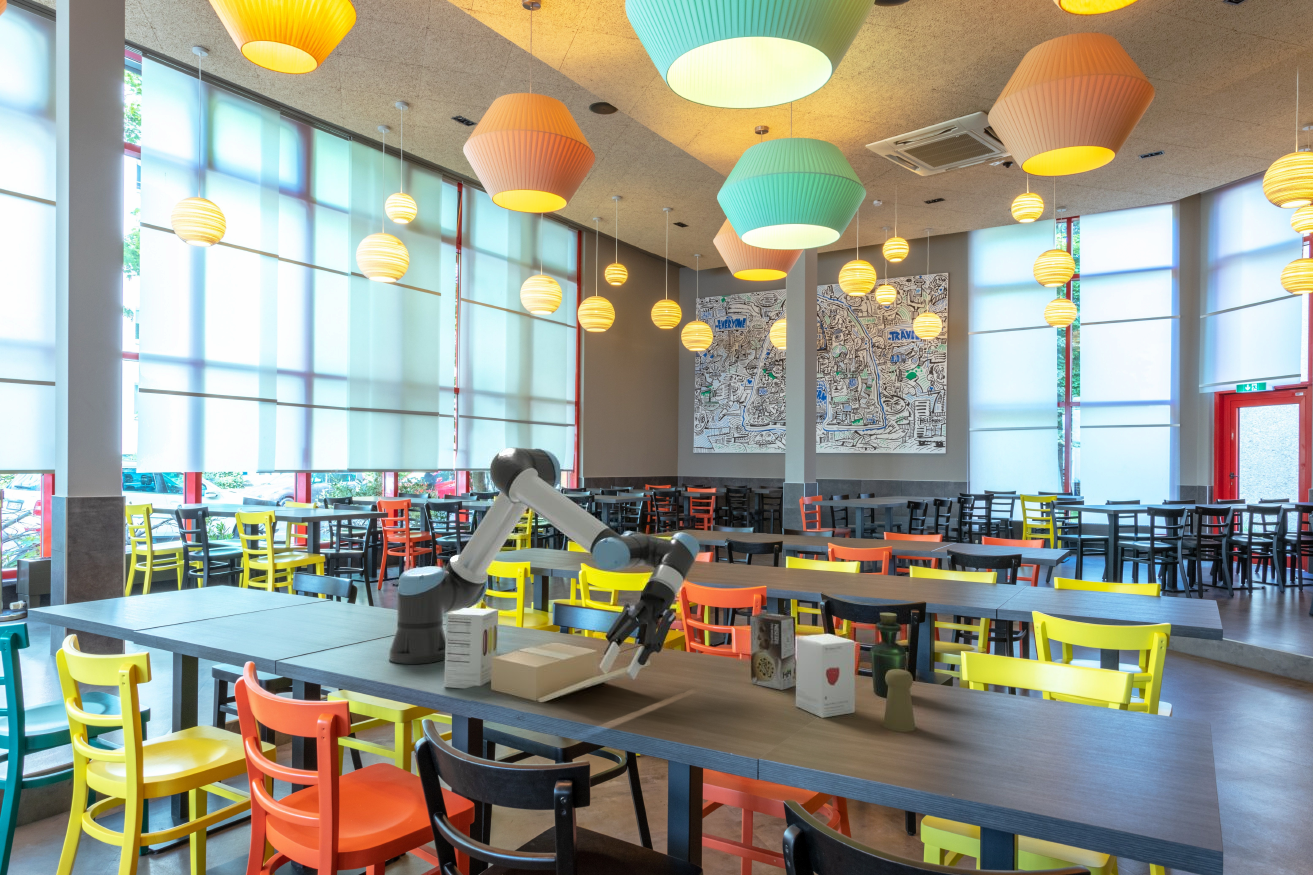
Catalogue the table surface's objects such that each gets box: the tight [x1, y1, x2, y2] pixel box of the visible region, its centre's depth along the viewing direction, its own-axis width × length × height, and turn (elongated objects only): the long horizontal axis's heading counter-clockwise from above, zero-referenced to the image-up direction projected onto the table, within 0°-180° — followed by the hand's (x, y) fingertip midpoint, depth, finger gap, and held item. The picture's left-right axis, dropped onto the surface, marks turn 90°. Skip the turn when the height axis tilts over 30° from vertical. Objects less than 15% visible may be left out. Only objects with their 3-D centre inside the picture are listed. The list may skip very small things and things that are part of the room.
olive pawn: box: [883, 669, 916, 733], centre depth 150 cm, size 6×6×11 cm
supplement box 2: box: [795, 633, 856, 719], centre depth 161 cm, size 9×9×15 cm
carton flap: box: [537, 659, 652, 703], centre depth 165 cm, size 1×20×16 cm
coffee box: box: [750, 612, 797, 691], centre depth 180 cm, size 9×6×16 cm
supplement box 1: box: [443, 607, 499, 689], centre depth 178 cm, size 10×9×17 cm
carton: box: [490, 642, 599, 702], centre depth 174 cm, size 14×20×8 cm
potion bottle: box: [869, 612, 908, 698], centre depth 173 cm, size 8×8×18 cm
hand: (616, 672), depth 164 cm, fingers closed on carton flap, 7 cm apart
